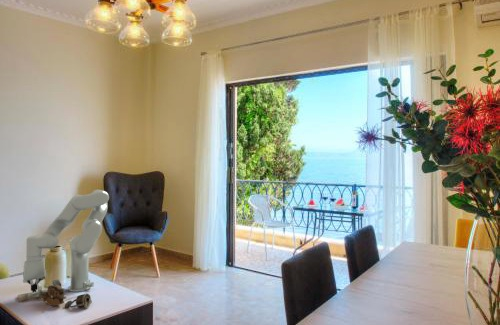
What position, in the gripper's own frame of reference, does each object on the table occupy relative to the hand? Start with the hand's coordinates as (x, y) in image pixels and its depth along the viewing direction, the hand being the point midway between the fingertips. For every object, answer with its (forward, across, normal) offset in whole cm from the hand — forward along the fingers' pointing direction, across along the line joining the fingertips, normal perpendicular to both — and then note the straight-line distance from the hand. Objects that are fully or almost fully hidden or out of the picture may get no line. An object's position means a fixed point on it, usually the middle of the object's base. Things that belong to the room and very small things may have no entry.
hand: (34, 291), depth 197 cm
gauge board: (+3, -3, 0) cm, 4 cm away
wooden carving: (+3, -7, +19) cm, 21 cm away
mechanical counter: (+4, -17, +29) cm, 34 cm away
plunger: (+2, -3, +2) cm, 4 cm away
